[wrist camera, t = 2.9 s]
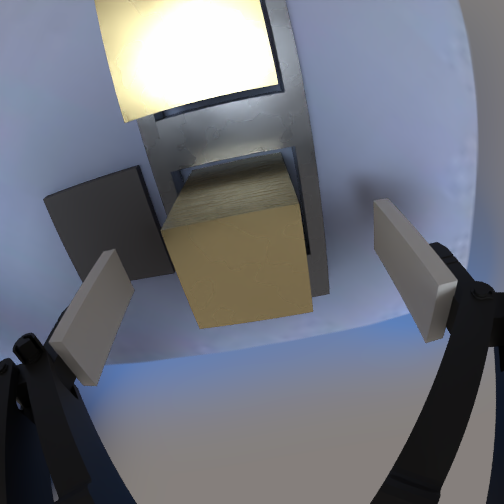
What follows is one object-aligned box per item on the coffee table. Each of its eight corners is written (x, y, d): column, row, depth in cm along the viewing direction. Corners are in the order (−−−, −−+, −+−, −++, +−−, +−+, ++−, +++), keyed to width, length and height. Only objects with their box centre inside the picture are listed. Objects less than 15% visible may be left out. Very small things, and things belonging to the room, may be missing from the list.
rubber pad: (88, 283, 24) (85, 288, 23) (47, 196, 20) (43, 199, 19) (175, 268, 23) (174, 273, 22) (138, 165, 19) (135, 167, 18)
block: (173, 101, 17) (124, 123, 10) (153, 19, 14) (93, -8, 7) (266, 80, 16) (278, 84, 10) (246, -5, 14) (245, -54, 7)
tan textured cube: (214, 245, 22) (200, 328, 15) (192, 170, 19) (160, 230, 12) (293, 230, 22) (313, 311, 15) (280, 152, 19) (299, 203, 12)
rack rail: (206, 296, 24) (204, 314, 23) (114, -25, 12) (101, -33, 10) (324, 277, 23) (329, 293, 22) (261, -65, 11) (263, -78, 9)
